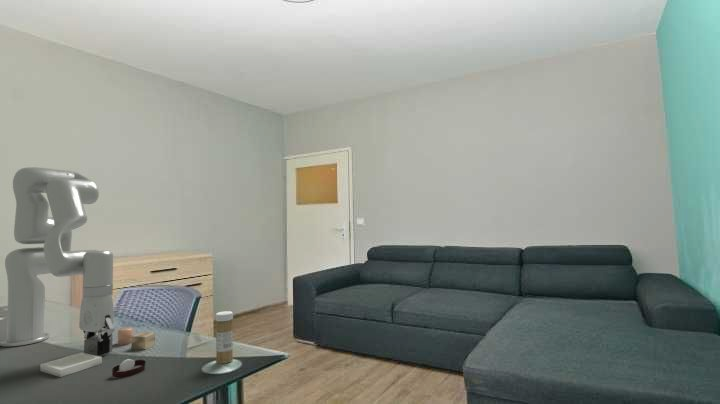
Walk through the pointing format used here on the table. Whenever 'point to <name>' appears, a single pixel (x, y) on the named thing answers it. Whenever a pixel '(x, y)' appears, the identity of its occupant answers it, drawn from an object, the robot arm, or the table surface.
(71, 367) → the dish
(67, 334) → the table surface
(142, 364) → the watch
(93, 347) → the grey marked block
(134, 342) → the oak block
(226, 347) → the sprinkles bottle
